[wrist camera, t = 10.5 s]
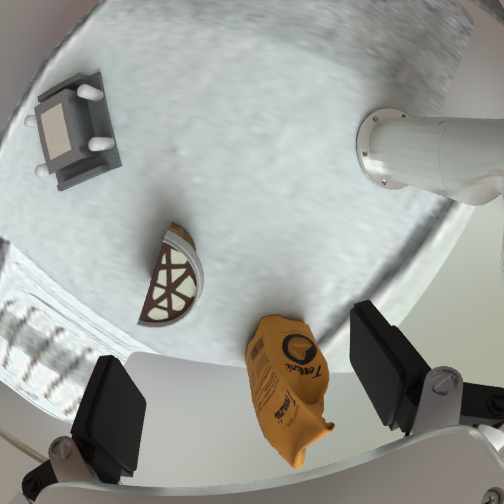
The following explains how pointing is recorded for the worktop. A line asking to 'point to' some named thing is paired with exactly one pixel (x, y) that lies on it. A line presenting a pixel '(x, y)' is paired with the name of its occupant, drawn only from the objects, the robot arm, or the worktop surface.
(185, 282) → the food container
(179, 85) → the worktop surface
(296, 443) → the coffee package
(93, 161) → the grey pegged block
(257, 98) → the worktop surface
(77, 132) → the block
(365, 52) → the worktop surface
